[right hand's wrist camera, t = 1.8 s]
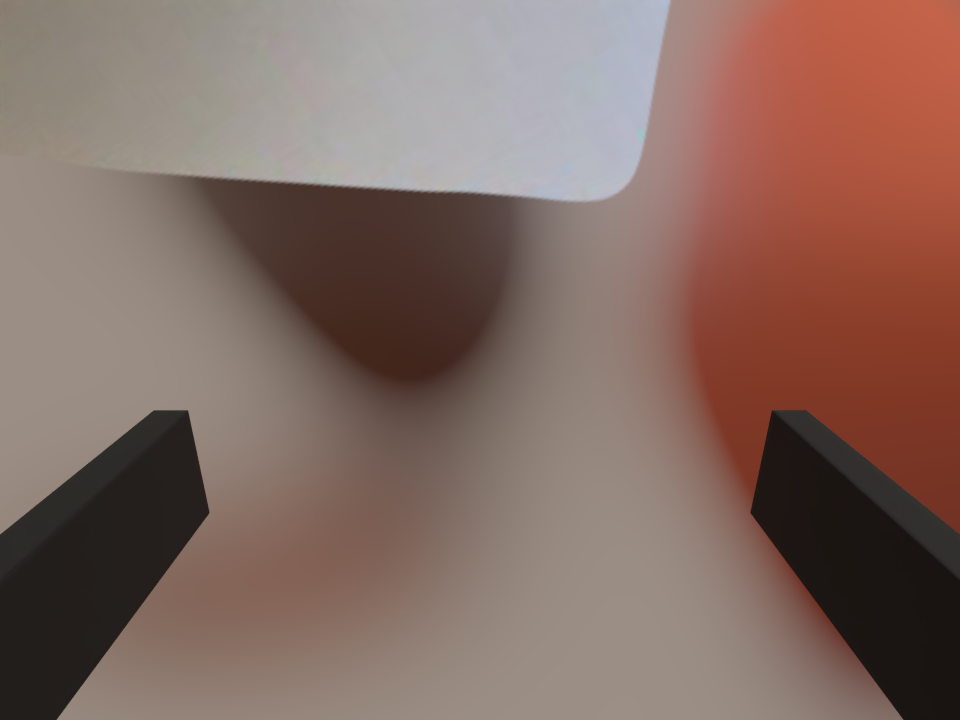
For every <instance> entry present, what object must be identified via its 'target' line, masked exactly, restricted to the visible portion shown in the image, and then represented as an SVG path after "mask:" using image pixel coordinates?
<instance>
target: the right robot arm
mask: <svg viewBox="0 0 960 720" xmlns="http://www.w3.org/2000/svg"><path fill="white" fill-rule="evenodd" d="M208 514H209V508H208V503H207V499H206V494H205V489H204V484H203V480H202V475H201V470H200V465H199V461H198V456H197V451H196V446H195V442H194V437H193V432H192V427H191V423H190V418H189V413H188V411H186V410H185V411H184V410H177V411H175V410H174V411H171V410H170V411H168V410H166V411H164V410H163V411H161V410H160V411H159V410H158V411H157V410H156V411H153V412H151V413H150V414H149V415H148V416H146V417H145V418H144V419H143V420H142V421H140V422H139V423H138V424H137V425H135V426H134V427H133V428H132V429H130V430H129V431H128V432H127V433H126V434H124V435H123V436H122V437H120V438H119V439H118V440H117V441H116V442H114V443H113V444H112V445H111V446H109V447H108V448H107V449H106V450H104V451H103V452H102V453H101V454H99V455H98V456H97V457H96V458H95V459H93V460H92V461H91V462H90V463H88V464H87V465H86V466H85V467H83V468H82V469H81V470H80V471H78V472H77V473H76V474H75V475H73V476H72V477H71V478H70V479H68V480H67V481H66V482H65V483H64V484H62V485H61V486H60V487H59V488H57V489H56V490H55V491H54V492H52V493H51V494H50V495H49V496H47V497H46V498H45V499H44V500H42V501H41V502H40V503H39V504H38V505H36V506H35V507H34V508H33V509H31V510H30V511H29V512H28V513H26V514H25V515H24V516H23V517H21V518H20V519H19V520H18V521H16V522H15V523H14V524H13V525H12V526H10V527H9V528H8V529H7V530H5V531H4V532H3V533H2V534H0V720H57V718H58V717H59V716H60V714H61V713H62V712H63V710H64V709H65V708H66V706H67V705H68V703H69V702H70V701H71V699H72V698H73V697H74V695H75V694H76V693H77V691H78V690H79V689H80V687H81V686H82V685H83V683H84V682H85V680H86V679H87V678H88V676H89V675H90V674H91V672H92V671H93V670H94V668H95V667H96V666H97V664H98V663H99V662H100V660H101V659H102V657H103V656H104V655H105V653H106V652H107V651H108V649H109V648H110V647H111V645H112V644H113V643H114V641H115V640H116V639H117V637H118V636H119V634H120V633H121V632H122V630H123V629H124V628H125V626H126V625H127V624H128V622H129V621H130V620H131V618H132V617H133V616H134V614H135V613H136V612H137V610H138V609H139V607H140V606H141V605H142V603H143V602H144V601H145V599H146V598H147V597H148V595H149V594H150V593H151V591H152V590H153V589H154V587H155V586H156V585H157V583H158V582H159V580H160V579H161V578H162V576H163V575H164V574H165V572H166V571H167V570H168V568H169V567H170V565H171V564H172V563H173V562H174V560H175V559H176V557H177V556H178V555H179V553H180V552H181V551H182V549H183V548H184V547H185V545H186V544H187V543H188V541H189V540H190V539H191V537H192V536H193V534H194V533H195V532H196V530H197V529H198V528H199V526H200V525H201V524H202V522H203V521H204V520H205V518H206V517H207V516H208ZM751 514H752V515H753V517H754V518H755V520H756V521H757V522H758V524H759V525H760V526H761V528H762V529H763V530H764V532H765V533H766V534H767V536H768V537H769V539H770V540H771V541H772V543H773V544H774V545H775V547H776V548H777V549H778V551H779V552H780V553H781V555H782V556H783V557H784V559H785V560H786V561H787V563H788V564H789V566H790V567H791V568H792V570H793V571H794V572H795V574H796V575H797V576H798V578H799V579H800V580H801V582H802V583H803V585H804V586H805V587H806V589H807V590H808V591H809V593H810V594H811V595H812V597H813V598H814V599H815V601H816V602H817V603H818V605H819V606H820V607H821V609H822V610H823V612H824V613H825V614H826V615H827V617H828V618H829V620H830V621H831V622H832V624H833V625H834V626H835V628H836V629H837V630H838V632H839V633H840V634H841V636H842V637H843V639H844V640H845V641H846V643H847V644H848V645H849V647H850V648H851V649H852V651H853V652H854V653H855V655H856V656H857V658H858V659H859V660H860V661H861V663H862V664H863V666H864V667H865V668H866V670H867V671H868V672H869V674H870V675H871V676H872V678H873V679H874V681H875V682H876V683H877V685H878V686H879V687H880V689H881V690H882V691H883V693H884V694H885V695H886V697H887V698H888V699H889V701H890V702H891V703H892V705H893V706H894V708H895V709H896V710H897V711H898V713H899V714H900V716H901V717H902V718H903V720H960V534H958V533H957V532H956V531H955V530H953V529H952V528H951V527H950V526H948V525H947V524H946V523H945V522H944V521H942V520H941V519H940V518H939V517H937V516H936V515H935V514H934V513H932V512H931V511H930V510H929V509H927V508H926V507H925V506H924V505H922V504H921V503H920V502H919V501H917V500H916V499H915V498H914V497H913V496H911V495H910V494H909V493H908V492H906V491H905V490H904V489H903V488H901V487H900V486H899V485H898V484H896V483H895V482H894V481H893V480H892V479H890V478H889V477H888V476H887V475H885V474H884V473H883V472H882V471H880V470H879V469H878V468H877V467H875V466H874V465H873V464H872V463H870V462H869V461H868V460H867V459H865V458H864V457H863V456H862V455H861V454H859V453H858V452H857V451H856V450H854V449H853V448H852V447H851V446H849V445H848V444H847V443H846V442H844V441H843V440H842V439H841V438H839V437H838V436H837V435H836V434H835V433H833V432H832V431H831V430H829V429H828V428H827V427H826V426H825V425H823V424H822V423H821V422H820V421H818V420H817V419H816V418H815V417H813V416H812V415H811V414H810V413H809V412H807V411H802V410H800V411H799V410H798V411H797V410H795V411H791V410H789V411H787V410H786V411H785V410H784V411H782V410H781V411H780V410H778V411H775V410H774V411H772V413H771V418H770V423H769V427H768V432H767V437H766V442H765V446H764V451H763V456H762V461H761V465H760V470H759V475H758V480H757V484H756V489H755V494H754V499H753V503H752V508H751Z"/></svg>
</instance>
